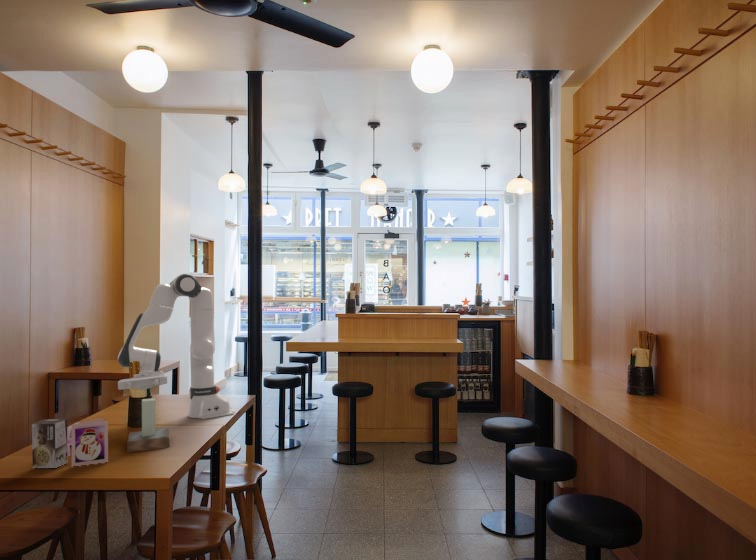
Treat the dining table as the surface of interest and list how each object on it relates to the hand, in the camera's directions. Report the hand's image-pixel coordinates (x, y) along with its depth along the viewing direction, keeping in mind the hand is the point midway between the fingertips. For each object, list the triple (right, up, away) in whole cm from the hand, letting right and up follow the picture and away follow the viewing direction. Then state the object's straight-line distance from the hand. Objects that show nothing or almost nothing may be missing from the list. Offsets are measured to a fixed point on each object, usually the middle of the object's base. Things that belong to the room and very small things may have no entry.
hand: (142, 384), depth 223 cm
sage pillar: (+10, -17, -17) cm, 26 cm away
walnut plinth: (+10, -21, -17) cm, 29 cm away
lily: (-18, -21, -29) cm, 41 cm away
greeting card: (-1, -21, -38) cm, 44 cm away
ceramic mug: (-21, -22, -13) cm, 33 cm away
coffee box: (-14, -21, -42) cm, 49 cm away
